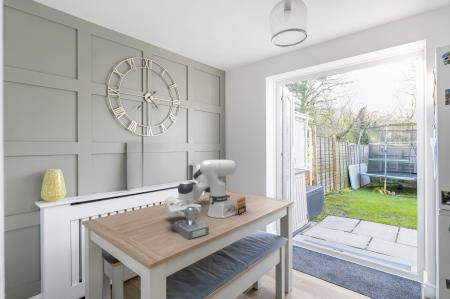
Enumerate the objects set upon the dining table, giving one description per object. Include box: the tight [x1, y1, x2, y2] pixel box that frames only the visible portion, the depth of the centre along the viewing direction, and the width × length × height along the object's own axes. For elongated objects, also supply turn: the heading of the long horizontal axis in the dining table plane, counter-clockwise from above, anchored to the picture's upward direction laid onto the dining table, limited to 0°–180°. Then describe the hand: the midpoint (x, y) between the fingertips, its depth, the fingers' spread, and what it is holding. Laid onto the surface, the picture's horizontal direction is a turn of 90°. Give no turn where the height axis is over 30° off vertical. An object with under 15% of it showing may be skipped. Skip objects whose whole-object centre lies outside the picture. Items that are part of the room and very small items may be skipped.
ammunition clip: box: [235, 196, 247, 216], centre depth 168 cm, size 11×2×12 cm, turn 143°
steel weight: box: [185, 207, 196, 225], centre depth 133 cm, size 5×5×9 cm
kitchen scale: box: [172, 218, 210, 240], centre depth 133 cm, size 13×18×5 cm
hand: (191, 213), depth 132 cm, fingers open, 8 cm apart
